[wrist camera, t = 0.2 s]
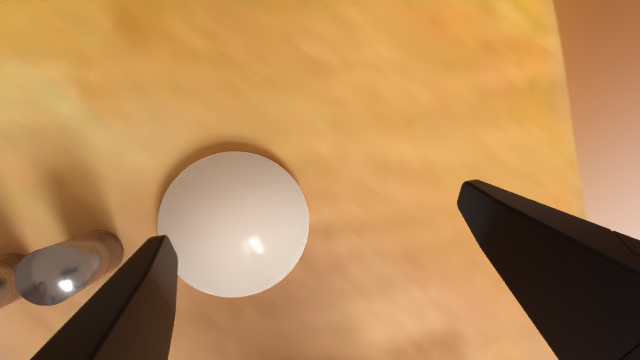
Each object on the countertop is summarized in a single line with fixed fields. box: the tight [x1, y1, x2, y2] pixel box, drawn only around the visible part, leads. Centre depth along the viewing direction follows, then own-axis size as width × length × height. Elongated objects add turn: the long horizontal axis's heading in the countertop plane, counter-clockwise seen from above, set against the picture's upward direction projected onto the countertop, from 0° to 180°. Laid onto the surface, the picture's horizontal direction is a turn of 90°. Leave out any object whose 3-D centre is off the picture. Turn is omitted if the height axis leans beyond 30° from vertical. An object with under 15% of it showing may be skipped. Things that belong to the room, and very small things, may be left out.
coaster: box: [157, 151, 309, 298], centre depth 22 cm, size 11×11×1 cm
